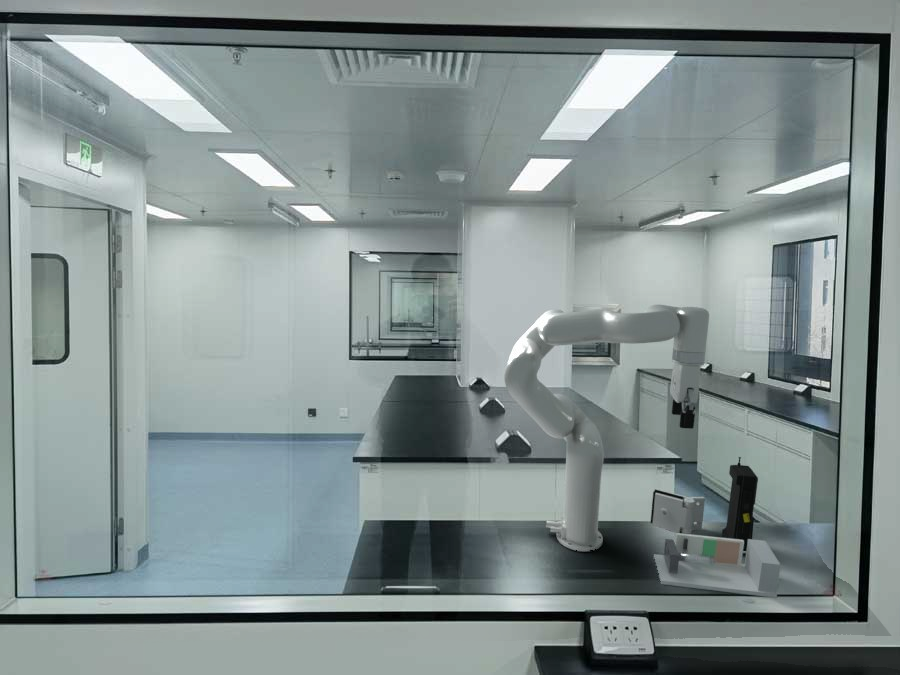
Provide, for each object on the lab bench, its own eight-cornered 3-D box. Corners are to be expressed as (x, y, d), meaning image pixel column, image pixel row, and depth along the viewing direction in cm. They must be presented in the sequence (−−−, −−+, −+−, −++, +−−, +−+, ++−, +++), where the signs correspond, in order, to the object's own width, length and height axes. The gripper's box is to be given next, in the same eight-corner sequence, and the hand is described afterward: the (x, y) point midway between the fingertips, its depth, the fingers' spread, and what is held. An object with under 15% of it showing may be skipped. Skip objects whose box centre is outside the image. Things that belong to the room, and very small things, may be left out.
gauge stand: (661, 584, 135) (664, 553, 133) (653, 557, 146) (656, 528, 144) (776, 597, 130) (781, 565, 129) (760, 569, 141) (764, 539, 139)
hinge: (701, 528, 160) (705, 496, 158) (702, 538, 155) (706, 505, 153) (650, 518, 165) (653, 488, 163) (650, 528, 160) (653, 496, 158)
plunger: (668, 572, 136) (670, 552, 135) (663, 555, 143) (665, 536, 142) (716, 578, 134) (718, 558, 133) (708, 560, 141) (710, 541, 140)
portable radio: (753, 557, 146) (765, 470, 141) (728, 555, 147) (739, 468, 142) (744, 541, 153) (755, 457, 148) (720, 538, 155) (730, 455, 149)
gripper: (666, 348, 147) (660, 408, 151) (679, 364, 131) (673, 432, 134) (696, 349, 146) (689, 410, 150) (713, 366, 129) (706, 434, 133)
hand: (682, 421), depth 142 cm, fingers open, 9 cm apart
